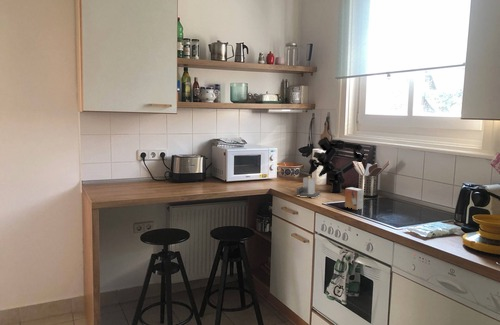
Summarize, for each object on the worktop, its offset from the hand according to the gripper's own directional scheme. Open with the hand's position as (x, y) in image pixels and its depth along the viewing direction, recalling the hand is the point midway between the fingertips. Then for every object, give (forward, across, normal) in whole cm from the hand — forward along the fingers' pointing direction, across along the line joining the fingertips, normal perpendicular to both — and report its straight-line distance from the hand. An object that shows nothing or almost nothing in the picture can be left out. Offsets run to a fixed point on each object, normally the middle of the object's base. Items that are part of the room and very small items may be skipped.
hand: (314, 175), depth 252 cm
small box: (+11, +36, +7) cm, 39 cm away
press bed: (+12, 0, +6) cm, 13 cm away
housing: (+10, 0, +4) cm, 11 cm away
